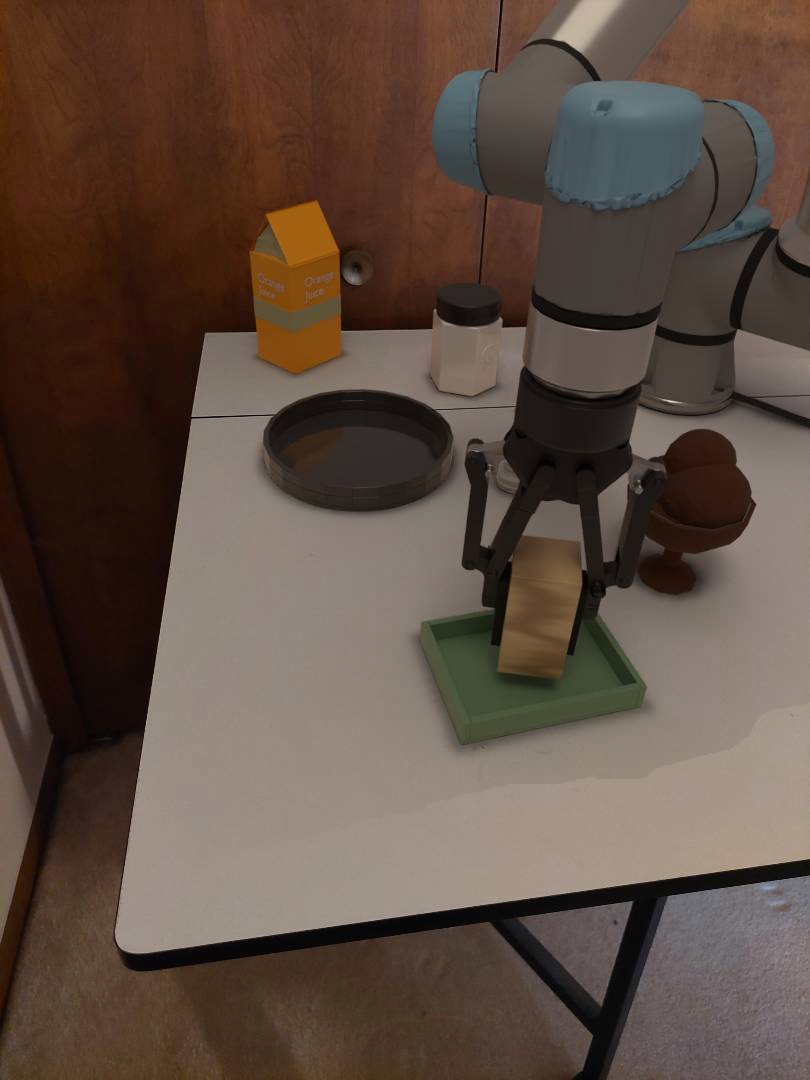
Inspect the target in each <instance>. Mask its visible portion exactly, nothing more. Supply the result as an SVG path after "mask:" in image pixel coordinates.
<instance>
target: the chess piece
mask: <svg viewBox="0 0 810 1080" xmlns="http://www.w3.org/2000/svg"><path fill="white" fill-rule="evenodd" d="M513 409H514V410H513V412H514V414H515V408H513ZM519 482H520V480H519V479H518V477H517V476H516V474H515V473H514V471H513V470H512V468H511V467H510V465H509V464H508V462H507V461H506V460H504V461H503V462H501V463H500V464H499V465H498V471H497V473H496V474H495V483H496V485H497V487H499V488H500V489H501V490H502V491H504V492H507V493H510V494H514V495H515V493H516V491H517V489H518V485H519Z"/></svg>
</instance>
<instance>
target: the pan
mask: <svg viewBox="0 0 810 1080" xmlns="http://www.w3.org/2000/svg"><path fill="white" fill-rule="evenodd" d="M262 434H263V436H262V437H263V438H262V447H263V448H262V449H263V458H264V464H265V468H266V471H267V473H268V475H269V477H270V478H271V480H272V481H273V482H274V484H276V486H278V488H280V490H282V491H284V493H287V494H289V495H290V496H291V497H293V498H295V499H297V500H299V501H302V502H304V503H307V504H310V505H312V506H313V505H314V506H317V507H321V508H325V509H330V510H335V511H336V510H337V511H347V512H348V511H349V512H370V511H381V510H386V509H387V510H388V509H393V508H396V507H401V506H404V505H407V504H410V503H412V502H415V501H418V500H420V499H422V498H424V497H425V496H428V495H429V494H430V493H433V491H435V490H436V489H437V488H438V487H440V486H441V485H442V483H443V482H444V481H446V478H447V477H448V475H449V473H450V470H451V467H452V460H453V451H454V439H455V438H454V435H453V431H452V427H451V425H450V424H449V422H448V421H447V420H446V418H445V417H444V416H443V415H442V414H441V412H439V411H437V410H436V409H434V408H433V407H432V406H430V405H429V404H427V403H425V402H422V401H420V400H417V399H415V398H412V397H411V396H407V395H403V394H401V393H400V394H399V393H395V392H391V391H386V390H377V389H368V388H359V389H358V388H357V389H356V388H355V389H354V388H353V389H337V390H332V391H324V392H319V393H316V394H312V395H309V396H305V397H303V398H299V399H297V400H295V401H293V402H291V403H290V404H287V405H286V406H284V407H282V408H280V409H279V411H277V412H276V413H275V414H274V415H273V416H271V417H270V419H269V420H268V423H267V424H266V426H265V427H264V429H263V433H262Z"/></svg>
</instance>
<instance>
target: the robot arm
mask: <svg viewBox="0 0 810 1080" xmlns="http://www.w3.org/2000/svg"><path fill="white" fill-rule="evenodd" d="M692 1H693V0H559V1H558V3H557V4H556V5H555V6H554V8H553V9H552V10H551V12H550V13H549V14H548V15H547V16H546V17H545V18H544V20H543V21H542V22H541V24H540V25H539V26H538V28H537V29H536V30H535V31H534V32H533V33H532V35H531V36H530V37H529V39H528V40H527V41H526V42H525V43H524V45H523V46H522V48H521V49H520V50H519V52H517V54H515V56H514V57H513V58H512V60H510V62H509V64H507V66H506V67H505V68H504V69H503V70H502V71H500V72H496V71H494V70H493V69H491V68H484V69H482V70H466V71H464V72H462V73H459V74H457V75H455V76H454V77H453V78H451V80H450V81H449V82H448V83H447V85H446V86H445V87H444V88H443V91H442V92H441V95H440V97H439V98H438V102H437V105H436V108H435V111H434V115H433V120H432V127H431V128H432V129H431V143H432V144H431V145H432V151H433V153H434V156H435V161H436V163H437V166H438V168H439V170H440V171H441V173H442V174H443V175H444V176H445V178H447V179H448V180H450V181H451V182H453V183H456V184H457V185H461V186H463V187H466V188H469V189H471V190H475V191H477V192H480V193H483V194H484V195H486V196H489V197H494V196H497V197H502V198H505V199H510V200H515V201H518V202H522V203H526V204H530V205H536V206H541V207H542V208H541V217H540V225H539V233H538V242H537V252H536V261H535V269H534V278H533V283H532V284H531V285H532V287H531V294H530V299H529V304H528V312H527V320H526V327H525V335H524V342H523V348H522V363H523V364H524V365H523V366H522V368H521V370H520V371H519V372H520V373H519V377H518V378H519V379H518V387H517V394H516V401H515V402H516V403H515V407H514V409H515V413H514V416H513V423H512V426H511V427H510V429H509V430H507V432H506V433H505V435H504V437H503V439H502V440H497V441H491V442H487V443H485V442H484V441H483V440H482V439H481V438H479V437H473V438H471V439H469V440H468V442H467V445H466V451H465V457H464V463H463V464H464V469H465V472H466V475H467V479H468V483H469V486H470V488H469V496H468V497H469V498H468V507H467V514H466V522H465V532H464V540H463V546H462V547H463V548H462V554H461V555H462V556H461V567H462V568H463V569H464V570H465V571H475V570H477V571H479V572H480V573H481V574H482V575H483V584H482V591H481V592H482V593H481V602H480V603H481V605H482V607H483V608H491V609H495V610H494V617H493V625H492V637H491V645H495V646H500V643H501V637H502V630H503V624H504V617H505V610H506V604H507V597H508V591H509V584H510V569H511V561H510V560H511V555H512V554H513V552H514V550H515V548H516V546H517V544H518V542H519V540H520V538H521V536H522V535H524V532H525V530H526V527H527V526H528V524H529V522H530V520H531V518H532V516H533V515H535V514H536V512H537V510H538V508H539V506H540V504H541V502H557V501H561V502H564V503H567V504H569V505H575V506H579V514H580V520H581V530H582V538H583V540H582V541H583V548H584V556H585V557H584V558H585V565H586V569H582V588H581V593H580V597H579V601H578V606H577V610H576V615H575V619H574V623H573V628H572V632H571V637H570V641H569V645H568V650H567V654H566V655H572V656H573V655H574V651H575V647H576V642H577V638H578V634H579V630H580V625H581V621H582V619H588V620H594V619H595V617H596V616H597V614H599V610H600V606H601V603H602V602H601V601H602V599H604V598H605V597H606V596H607V588H609V587H615V586H616V587H617V588H619V589H622V590H626V589H630V587H632V585H633V583H634V580H635V575H636V572H637V569H638V564H639V560H640V557H641V556H640V555H641V552H642V549H643V545H644V540H645V537H646V535H645V533H646V529H647V526H648V522H649V518H650V514H651V510H652V506H653V505H654V503H655V502H656V501H657V499H658V498H659V497H660V495H661V494H662V493H663V491H664V490H665V489H666V487H667V485H668V480H667V475H666V470H665V465H664V461H663V460H662V459H661V458H660V457H659V456H652V457H650V458H648V459H646V458H644V457H642V456H639V455H637V454H634V453H633V448H632V445H631V443H630V440H631V436H632V432H633V428H634V424H635V420H636V415H637V411H638V406H639V405H642V406H644V407H647V408H648V409H649V408H650V409H652V410H656V411H660V412H663V413H669V414H676V415H687V416H689V415H692V416H693V415H696V416H697V415H705V414H711V413H715V412H718V411H721V410H723V409H724V408H726V407H727V406H729V404H730V403H731V402H732V400H734V401H739V402H740V403H744V404H746V405H748V406H751V407H754V408H757V409H760V410H763V411H765V412H768V413H771V414H773V415H776V416H779V417H781V418H784V419H786V420H788V421H791V422H795V423H798V424H800V425H804V426H807V427H810V417H807V416H804V415H800V414H798V413H794V412H792V411H789V410H786V409H784V408H781V407H778V406H777V405H773V404H771V403H768V402H766V401H762V400H760V399H756V398H754V397H751V396H750V395H749V396H748V395H747V394H744V393H743V394H742V393H740V392H737V391H735V389H736V362H735V361H736V360H735V339H736V336H737V333H738V330H739V331H742V332H746V333H749V334H752V335H755V336H758V337H762V338H765V339H768V340H771V341H775V342H778V343H781V344H785V345H788V346H791V347H795V348H798V349H802V350H804V351H809V352H810V166H809V167H808V172H807V176H806V180H805V184H804V189H803V193H802V197H801V201H800V205H799V209H798V212H797V213H795V214H793V215H791V216H790V217H788V218H787V219H786V220H785V221H784V222H783V223H782V224H781V225H780V228H779V229H778V228H774V227H771V226H772V224H773V221H774V220H773V215H772V212H771V211H770V210H769V209H768V208H764V207H762V206H760V205H755V204H756V202H758V201H759V199H760V198H761V196H762V195H763V194H764V192H765V190H766V188H767V186H768V185H769V182H770V181H771V180H770V179H771V178H772V175H773V172H774V166H775V158H776V151H775V142H774V137H773V133H772V131H771V128H770V126H769V124H768V123H767V121H766V120H765V118H764V117H763V115H762V114H761V113H760V112H759V111H758V110H756V109H754V108H753V106H751V105H749V104H747V103H745V102H742V101H740V100H735V99H716V98H706V99H704V100H702V99H701V98H700V96H699V95H698V94H697V93H695V92H694V91H691V90H689V89H687V88H684V87H683V88H682V87H679V86H676V85H670V84H665V83H660V82H659V83H658V82H649V81H640V80H639V81H638V80H636V81H635V80H633V79H634V78H635V76H636V75H637V74H638V72H639V71H640V70H641V68H642V67H643V66H644V64H645V63H646V62H647V60H648V59H649V58H650V57H651V55H652V54H653V52H655V50H656V49H657V47H658V46H659V44H660V43H661V42H662V41H663V39H664V38H665V37H666V35H667V34H668V32H670V30H671V29H672V28H673V26H674V25H675V23H676V22H677V21H678V19H679V18H680V16H681V15H682V14H683V13H684V12H685V10H686V9H687V8H688V6H689V5H690V4H691V2H692ZM502 461H507V462H508V464H509V465H510V467H511V468H512V470H513V471H514V473H515V474H516V476H517V477H518V479H519V480H520V482H519V485H518V489H517V491H516V493H515V494H514V495H513V497H512V500H511V502H510V504H509V506H508V508H507V509H506V512H505V514H504V516H503V518H502V520H501V522H500V524H499V526H498V529H497V531H496V533H495V535H494V538H493V540H491V541H492V542H491V543H490V544H488V546H484V545H481V544H482V539H483V531H484V524H485V523H484V522H485V517H486V509H487V502H488V494H489V486H490V478H492V477H494V475H495V476H496V475H497V471H498V467H499V466H500V464H501V463H502ZM626 473H627V475H628V476H627V481H628V484H629V487H630V493H629V497H628V500H627V503H626V507H625V511H624V515H623V519H622V523H621V527H620V531H619V536H618V541H617V545H616V548H615V553H614V558H613V560H609V561H605V559H604V549H603V539H602V528H601V517H600V507H599V495H600V494H601V493H603V492H604V491H605V490H606V489H608V488H609V487H610V486H612V485H613V484H614V483H615V482H617V480H619V479H620V478H621V477H623V476H624V475H625V474H626Z"/></svg>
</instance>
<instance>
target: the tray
mask: <svg viewBox="0 0 810 1080" xmlns="http://www.w3.org/2000/svg"><path fill="white" fill-rule="evenodd" d="M494 610H495V608H491V609H487V610H480V611H475V612H469V613H463V614H457V615H452V616H446V617H440V618H434V619H429V620H423V621H422V620H421V621H420V634H419V643H420V646H421V648H422V650H423V654H424V656H425V659H426V660H427V663H428V665H429V668H430V670H431V673H432V675H433V678H434V680H435V682H436V683H435V684H436V685H437V688H438V690H439V693H440V695H441V698H442V700H443V702H444V703H443V704H444V705H445V708H446V710H447V713H448V715H449V718H450V721H451V723H452V726H453V727H454V730H455V733H456V735H457V738H458V740H459V742H460V745H463V746H464V745H467V744H471V743H476V742H481V741H487V740H491V739H496V738H499V737H504V736H505V737H506V736H509V735H514V734H519V733H523V732H524V733H525V732H528V731H533V730H537V729H542V728H546V727H547V728H548V727H552V726H557V725H561V724H565V723H571V722H576V721H580V720H585V719H589V718H593V717H599V716H603V715H608V714H613V713H617V712H622V711H627V710H631V709H637V708H641V707H642V704H643V701H644V697H645V694H646V692H647V689H648V686H647V684H646V682H645V681H644V680H643V678H642V677H641V675H640V674H639V671H638V670H637V669H636V667H635V666H634V664H633V663H632V662H631V660H630V658H629V657H628V656H627V654H626V653H625V651H624V650H623V648H622V647H621V646H620V643H619V642H618V640H617V639H616V638H615V636H614V635H613V633H612V631H611V630H610V629H609V627H608V625H607V624H606V623H605V621H604V620H603V618H602V617H601V615H600V614H599V613H598V614H597V616H596V617H595V619H594V620H588V619H582V621H581V625H580V630H579V634H578V638H577V642H576V647H575V651H574V655H573V656H572V655H566V658H565V663H564V667H563V672H562V676H561V680H557V679H550V678H542V677H535V676H527V675H520V674H512V673H504V672H498V671H497V665H498V652H499V646H495V645H491V637H492V625H493V617H494Z"/></svg>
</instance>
